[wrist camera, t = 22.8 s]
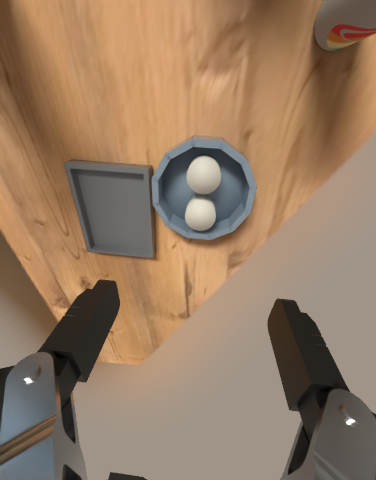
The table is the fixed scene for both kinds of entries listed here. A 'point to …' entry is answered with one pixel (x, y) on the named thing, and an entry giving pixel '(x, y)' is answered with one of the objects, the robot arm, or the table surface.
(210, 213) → the white marshmallow
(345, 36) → the lotion bottle
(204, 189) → the marshmallow
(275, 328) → the robot arm
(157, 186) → the bowl
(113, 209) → the parts tray
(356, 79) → the table surface
